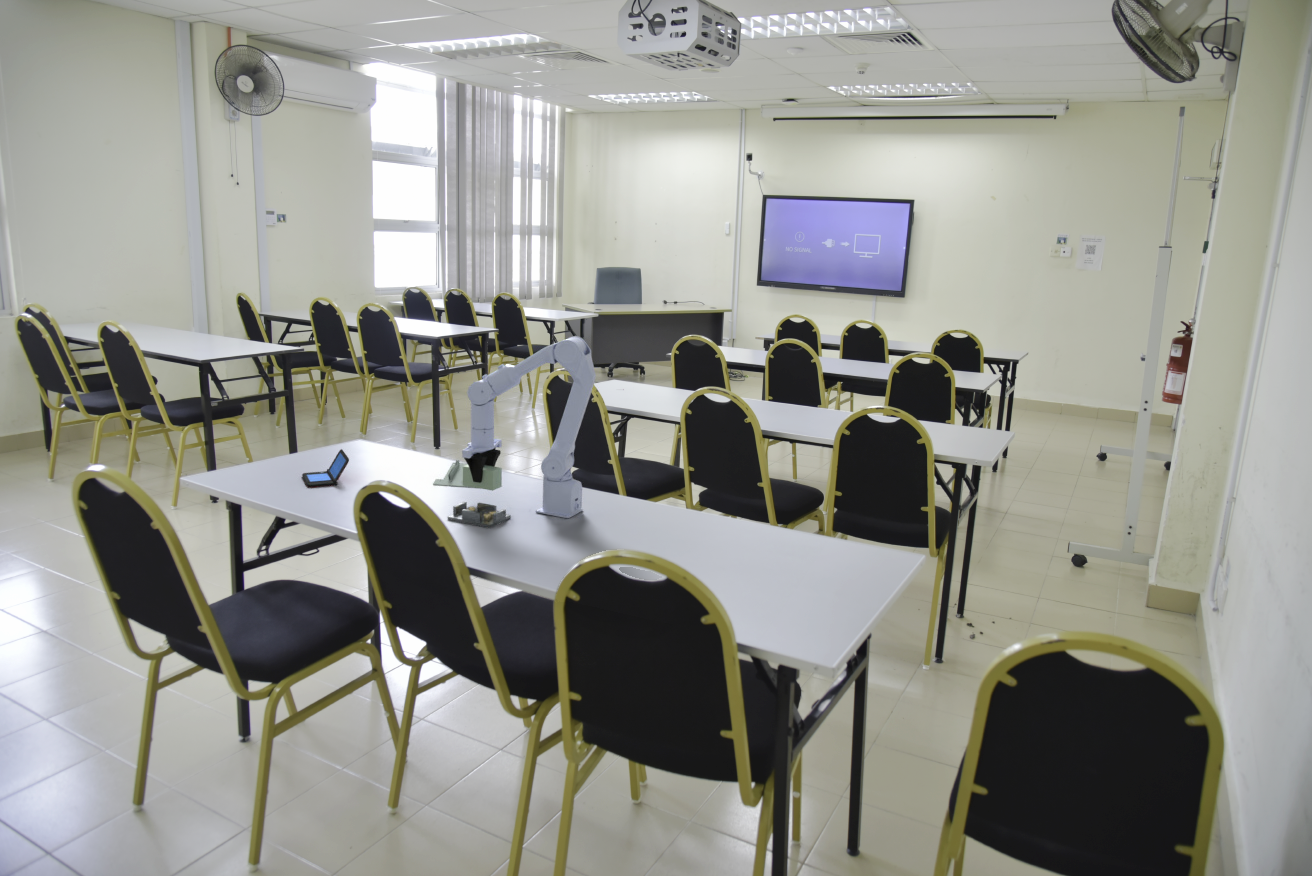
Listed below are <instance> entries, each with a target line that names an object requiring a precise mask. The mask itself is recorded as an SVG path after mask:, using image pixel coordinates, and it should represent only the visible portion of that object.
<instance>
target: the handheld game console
mask: <svg viewBox="0 0 1312 876" xmlns="http://www.w3.org/2000/svg"><path fill="white" fill-rule="evenodd" d="M349 461H350V457H348V455H347V454H346V453H345V451H344V450H343V449H342V448H341V449H340V450H339V451H338V452H337V454H336V456H335V458H334V459H333V461H332V462H331V464H330V466H329V468H327V469H326V470H324V471H314V472H313V471H312V472H304V473H302V474H301V475H302V479H303V481H304V482H305V485H306V486H307V488H310V489H313V488H324V487H325V488H326V487H335V486H336V487H338V481H339V478H340V477H341V475H342V473H343V472H344V471H345V468H347V465H348V464H349Z"/></svg>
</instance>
